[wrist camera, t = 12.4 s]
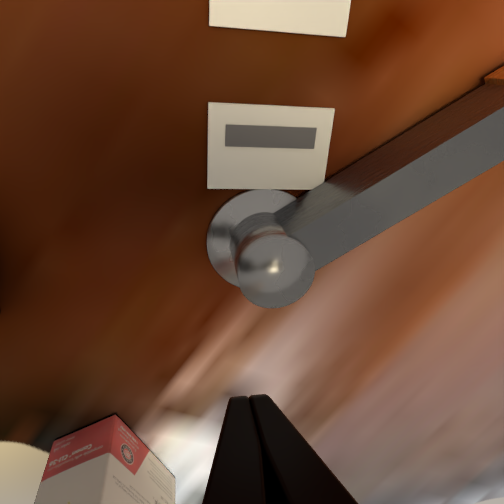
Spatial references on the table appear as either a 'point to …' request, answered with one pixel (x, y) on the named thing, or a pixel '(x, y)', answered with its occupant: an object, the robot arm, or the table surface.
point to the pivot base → (232, 216)
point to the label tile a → (267, 146)
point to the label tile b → (282, 15)
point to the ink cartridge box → (104, 469)
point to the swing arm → (368, 197)
